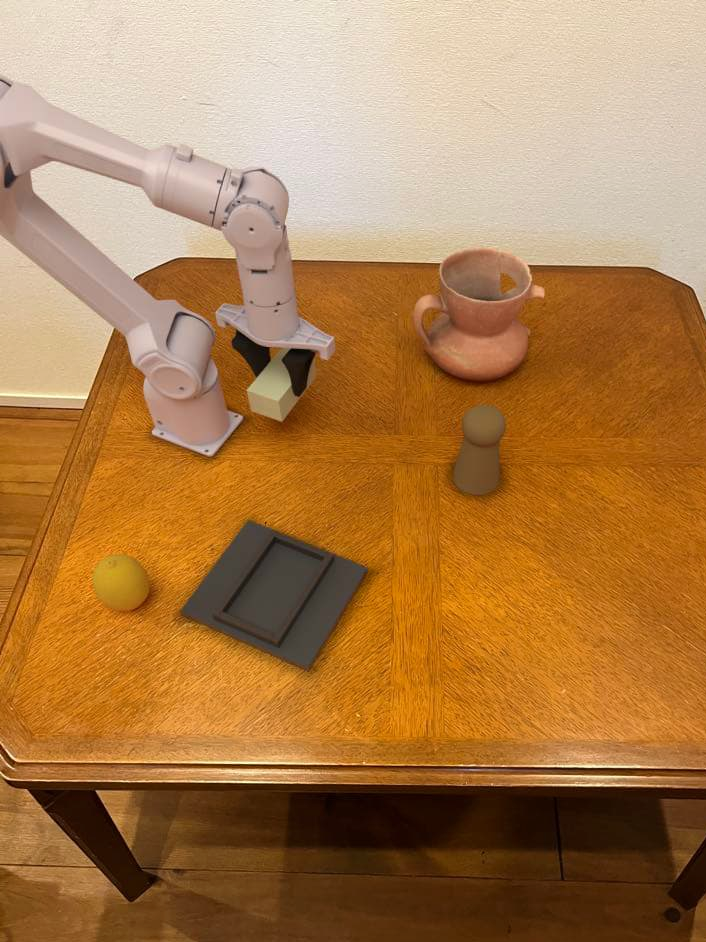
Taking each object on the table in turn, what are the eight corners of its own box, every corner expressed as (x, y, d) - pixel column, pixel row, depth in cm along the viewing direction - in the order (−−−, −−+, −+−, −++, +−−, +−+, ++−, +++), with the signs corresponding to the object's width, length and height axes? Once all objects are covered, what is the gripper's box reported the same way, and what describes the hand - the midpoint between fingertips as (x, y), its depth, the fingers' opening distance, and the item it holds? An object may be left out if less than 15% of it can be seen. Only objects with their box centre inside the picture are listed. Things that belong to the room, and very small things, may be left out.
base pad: (182, 615, 82) (177, 605, 80) (249, 524, 89) (246, 513, 87) (308, 672, 78) (306, 662, 76) (367, 572, 85) (367, 561, 84)
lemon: (110, 583, 84) (87, 542, 77) (159, 580, 84) (140, 539, 78) (102, 625, 81) (77, 586, 74) (154, 622, 81) (134, 583, 75)
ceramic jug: (520, 322, 113) (535, 236, 101) (543, 387, 104) (563, 302, 93) (404, 331, 111) (405, 245, 99) (418, 397, 103) (421, 312, 91)
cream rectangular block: (250, 411, 91) (246, 390, 88) (286, 366, 95) (283, 345, 93) (282, 422, 90) (278, 400, 87) (316, 376, 94) (314, 355, 92)
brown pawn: (496, 498, 92) (508, 437, 83) (449, 490, 93) (455, 429, 84) (502, 463, 96) (514, 401, 87) (456, 456, 96) (463, 393, 87)
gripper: (344, 288, 81) (350, 382, 92) (231, 255, 84) (249, 349, 95) (314, 325, 77) (323, 418, 88) (196, 289, 80) (219, 383, 91)
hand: (283, 385), depth 91 cm, fingers closed on cream rectangular block, 4 cm apart
